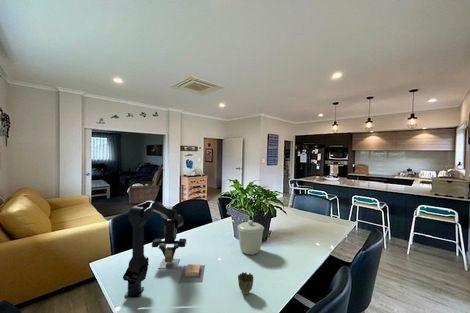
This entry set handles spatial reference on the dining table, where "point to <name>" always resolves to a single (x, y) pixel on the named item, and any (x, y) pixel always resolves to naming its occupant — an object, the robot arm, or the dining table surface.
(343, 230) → the dining table surface
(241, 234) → the canister
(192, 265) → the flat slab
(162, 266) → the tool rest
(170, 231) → the robot arm
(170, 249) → the walnut block
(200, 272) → the rubber mat
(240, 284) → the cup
